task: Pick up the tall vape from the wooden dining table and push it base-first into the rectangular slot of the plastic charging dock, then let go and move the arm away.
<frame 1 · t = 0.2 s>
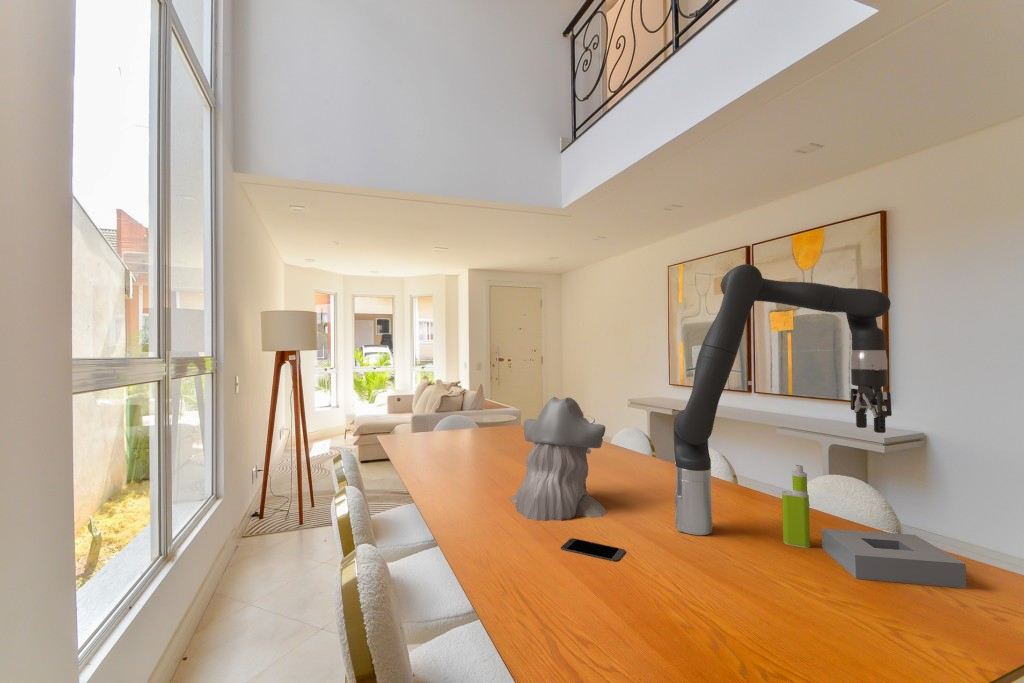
hand: (870, 430, 118), 29 cm above the table, tool pointing down, fingers open, 8 cm apart
charging dock: (887, 566, 103), on the table
vape: (797, 544, 116), on the table
smartphone: (593, 552, 113), on the table
bust: (557, 505, 149), on the table
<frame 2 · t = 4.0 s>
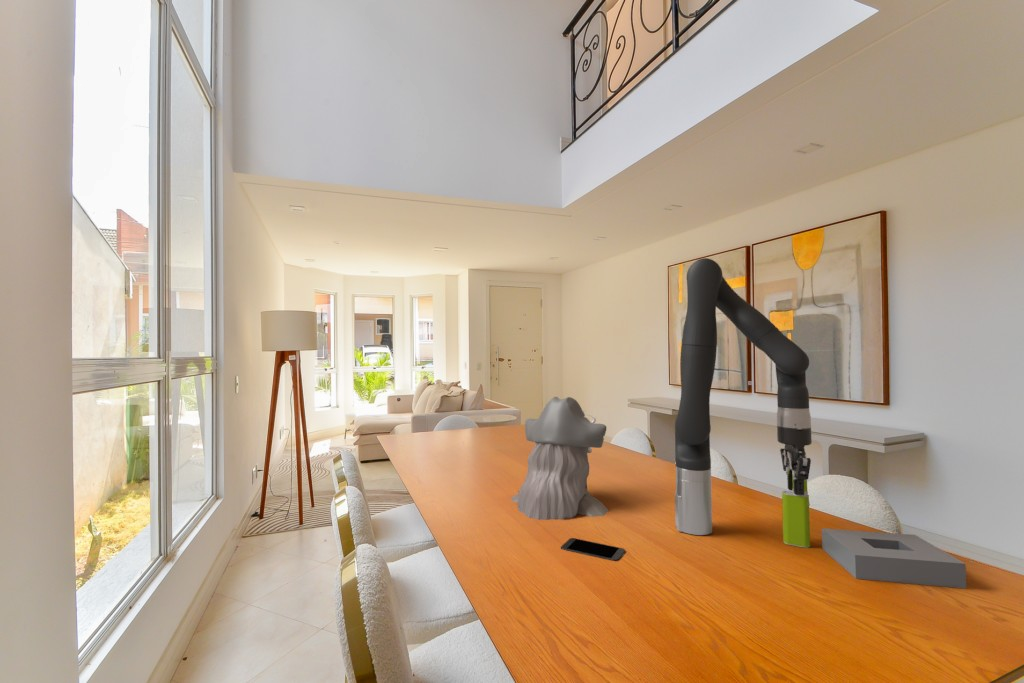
hand: (795, 492, 117), 13 cm above the table, tool pointing down, fingers closed on vape, 3 cm apart
vape: (797, 544, 116), on the table, touching gripper
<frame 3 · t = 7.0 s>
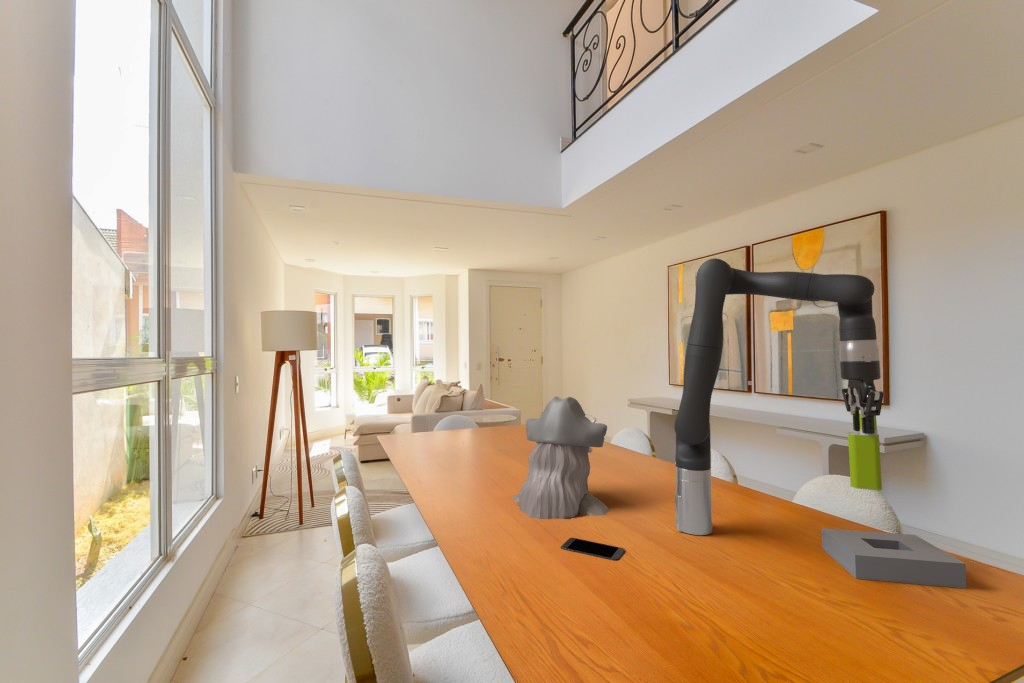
hand: (863, 432, 107), 30 cm above the table, tool pointing down, fingers closed on vape, 3 cm apart
vape: (866, 488, 107), point 17 cm above the table, touching gripper
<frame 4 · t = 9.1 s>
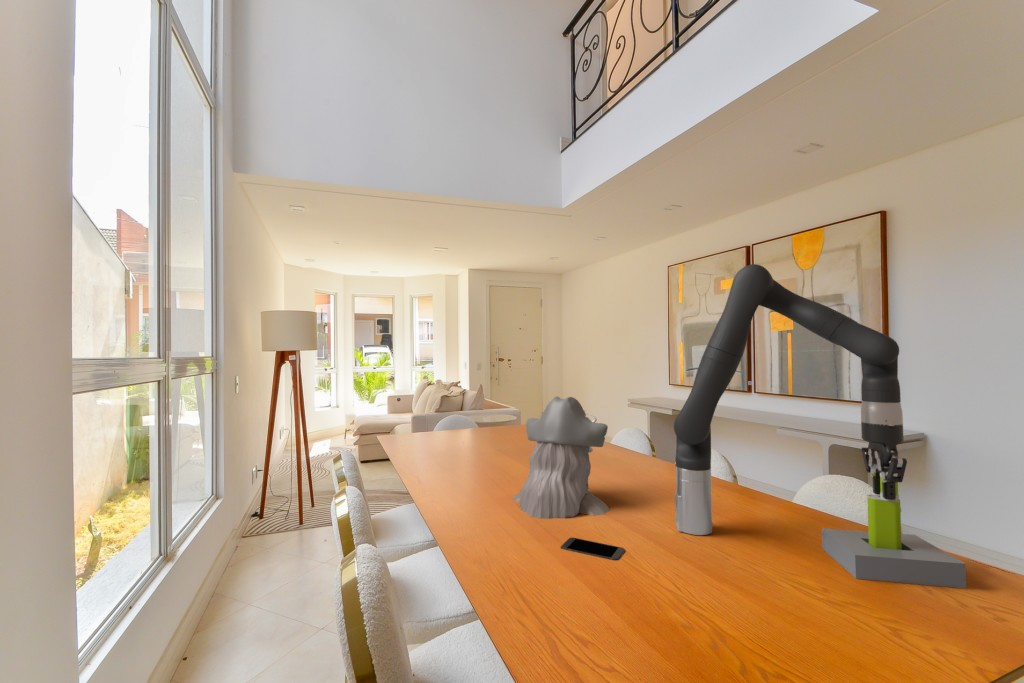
hand: (884, 496, 104), 16 cm above the table, tool pointing down, fingers closed on vape, 3 cm apart
vape: (885, 554, 104), point 3 cm above the table, touching gripper
when the fingers open (14 cm above the table, at t = 10.5 s): vape stays where it is, resting in charging dock.
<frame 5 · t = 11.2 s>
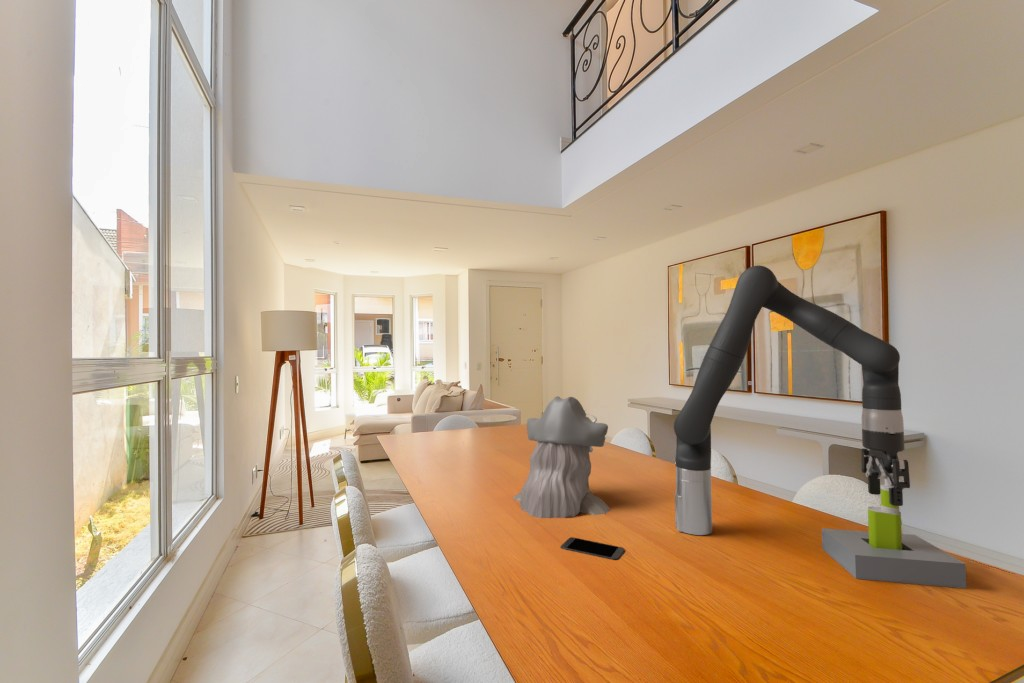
hand: (884, 499, 104), 15 cm above the table, tool pointing down, fingers open, 8 cm apart
vape: (886, 567, 104), resting in charging dock
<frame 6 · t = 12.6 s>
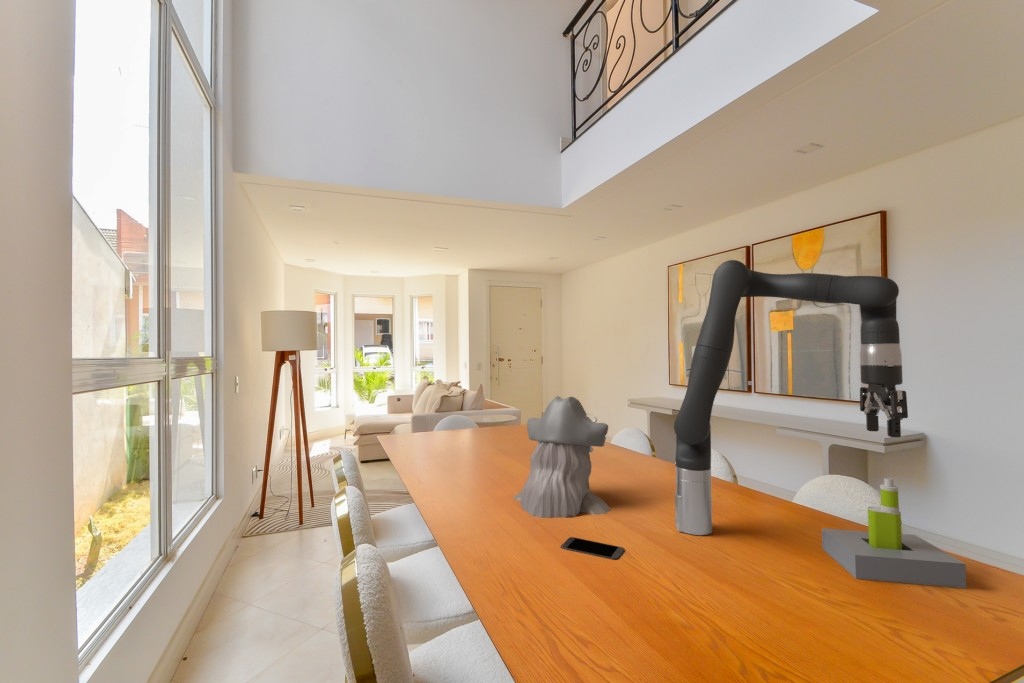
hand: (883, 433, 105), 30 cm above the table, tool pointing down, fingers open, 8 cm apart
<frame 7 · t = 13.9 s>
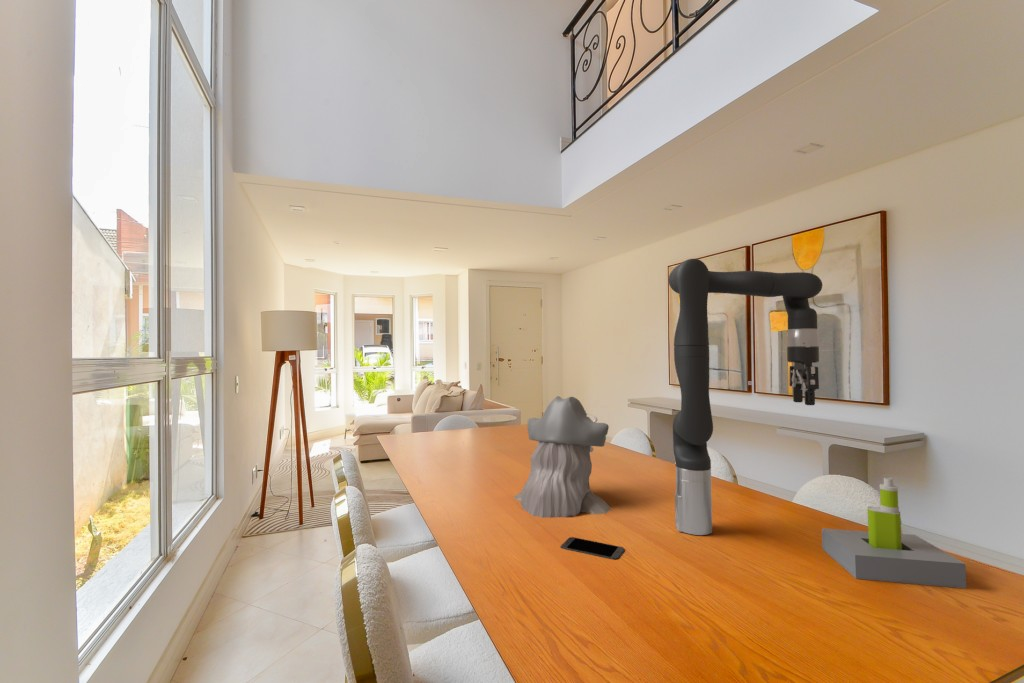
hand: (803, 403, 126), 35 cm above the table, tool pointing down, fingers open, 8 cm apart
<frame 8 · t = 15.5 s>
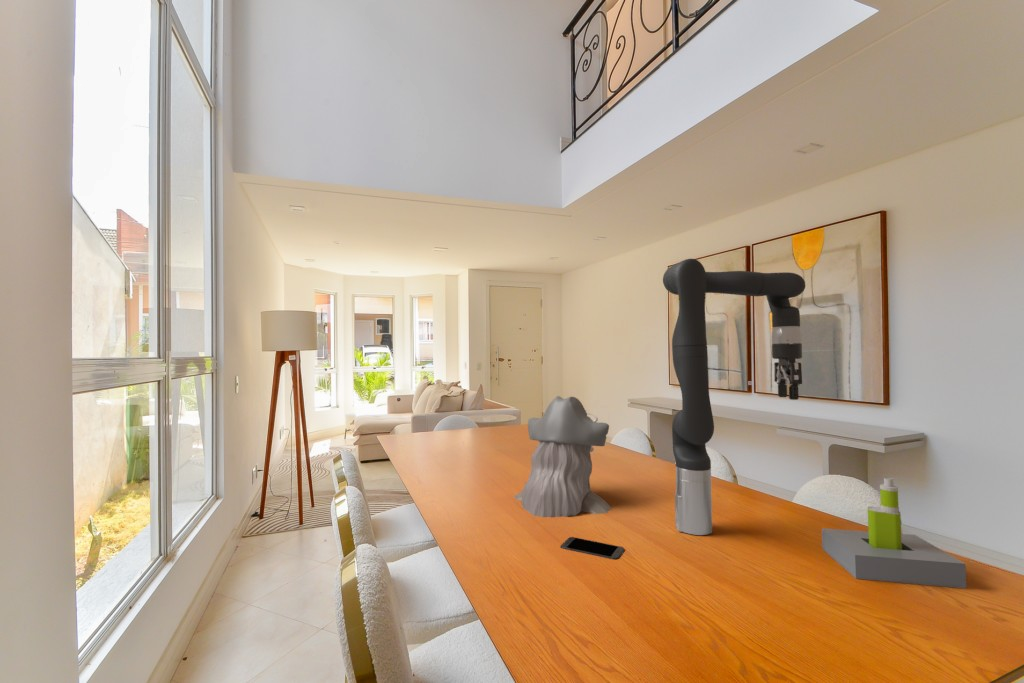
hand: (788, 398, 132), 36 cm above the table, tool pointing down, fingers open, 8 cm apart
at the end: vape 0.2 cm off-centre on the charging dock, point 0.0 cm above the charging dock's base; vape tilted 0°; the gripper is holding nothing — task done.
